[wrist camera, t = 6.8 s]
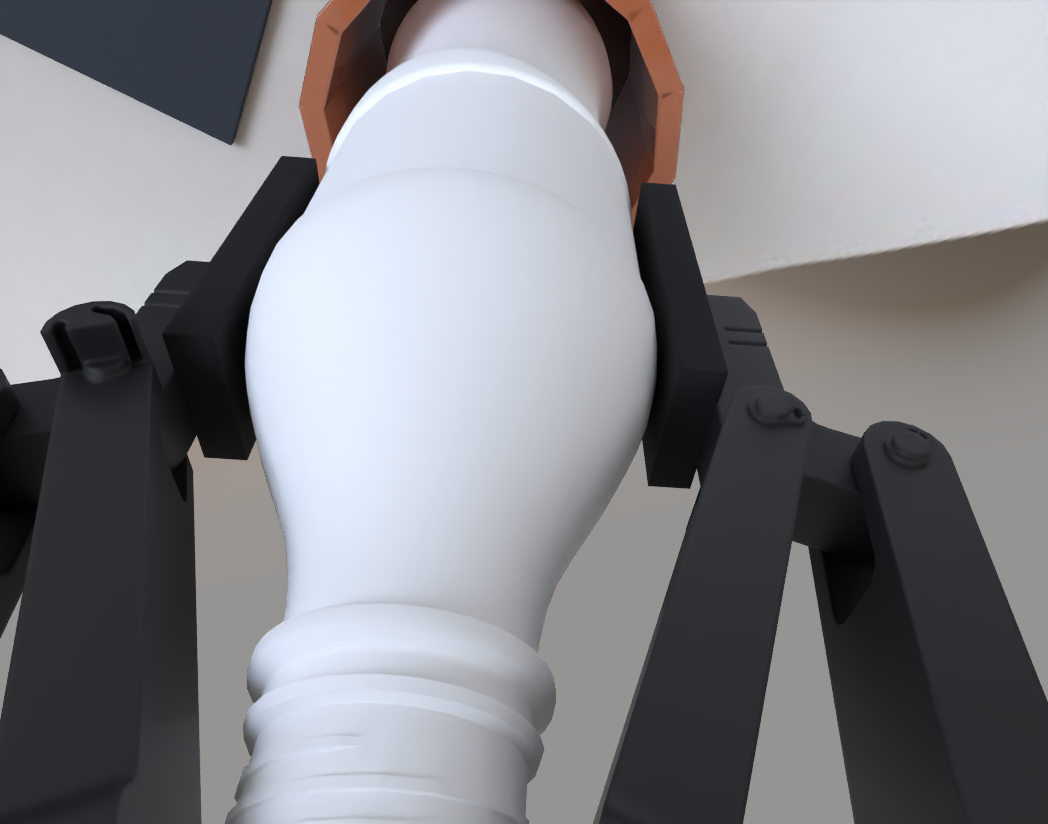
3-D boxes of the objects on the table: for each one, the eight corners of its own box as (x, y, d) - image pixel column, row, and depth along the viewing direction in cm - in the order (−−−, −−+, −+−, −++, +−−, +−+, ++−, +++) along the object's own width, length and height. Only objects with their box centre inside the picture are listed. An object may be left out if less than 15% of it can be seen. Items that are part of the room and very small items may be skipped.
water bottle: (370, 105, 26) (-61, 939, 8) (455, -104, 22) (-70, 661, 3) (541, 197, 28) (518, 1015, 10) (648, 24, 24) (952, 903, 6)
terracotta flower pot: (304, 36, 27) (224, 125, 21) (521, -219, 22) (507, -211, 16) (496, 232, 33) (482, 353, 26) (707, 62, 28) (757, 158, 21)
